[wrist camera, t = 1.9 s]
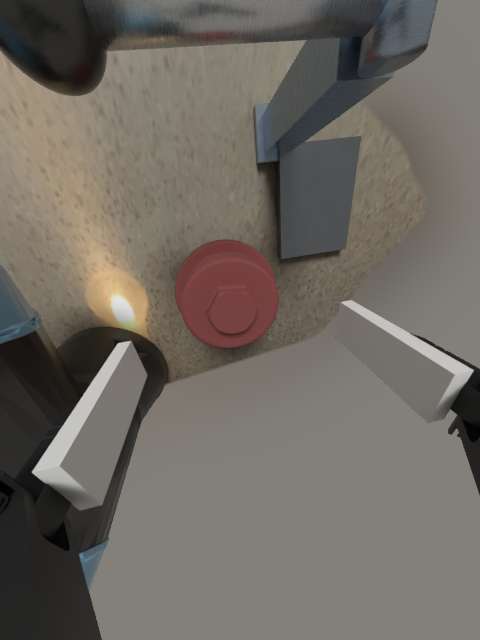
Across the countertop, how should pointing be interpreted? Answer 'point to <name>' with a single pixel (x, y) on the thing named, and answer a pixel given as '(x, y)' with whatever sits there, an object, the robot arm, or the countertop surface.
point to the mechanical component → (226, 294)
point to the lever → (199, 31)
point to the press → (313, 145)
